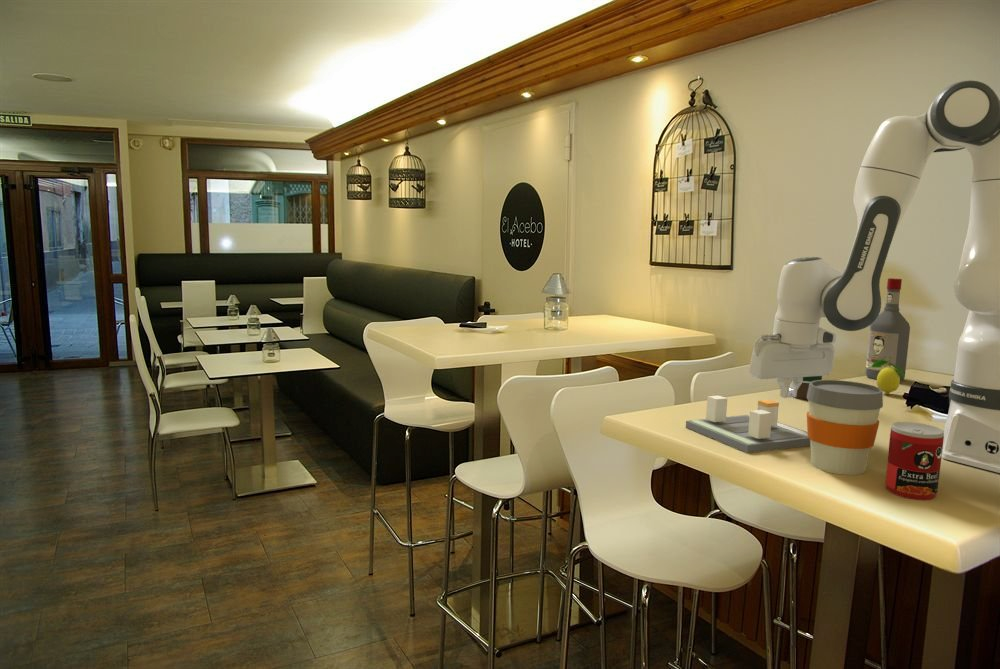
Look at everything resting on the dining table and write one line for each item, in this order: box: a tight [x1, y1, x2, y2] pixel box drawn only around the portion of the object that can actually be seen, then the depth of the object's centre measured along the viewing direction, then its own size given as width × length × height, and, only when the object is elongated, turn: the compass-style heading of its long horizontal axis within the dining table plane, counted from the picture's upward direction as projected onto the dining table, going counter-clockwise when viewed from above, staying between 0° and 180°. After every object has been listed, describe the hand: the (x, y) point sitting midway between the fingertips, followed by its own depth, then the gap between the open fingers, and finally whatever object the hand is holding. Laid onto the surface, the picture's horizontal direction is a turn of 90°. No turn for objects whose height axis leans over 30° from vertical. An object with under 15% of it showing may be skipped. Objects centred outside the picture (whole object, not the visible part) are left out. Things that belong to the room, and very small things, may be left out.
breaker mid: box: [757, 399, 780, 426], centre depth 154 cm, size 3×3×5 cm
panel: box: [685, 414, 811, 454], centre depth 153 cm, size 19×19×2 cm
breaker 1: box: [705, 395, 728, 422], centre depth 157 cm, size 3×3×5 cm
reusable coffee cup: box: [806, 379, 884, 476], centre depth 133 cm, size 12×13×15 cm
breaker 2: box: [748, 409, 772, 439], centre depth 145 cm, size 3×3×5 cm
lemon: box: [871, 358, 906, 395], centre depth 196 cm, size 7×6×10 cm
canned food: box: [884, 421, 944, 501], centre depth 121 cm, size 8×8×11 cm
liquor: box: [864, 277, 911, 381], centre depth 217 cm, size 9×9×30 cm
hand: (788, 397), depth 156 cm, fingers closed
